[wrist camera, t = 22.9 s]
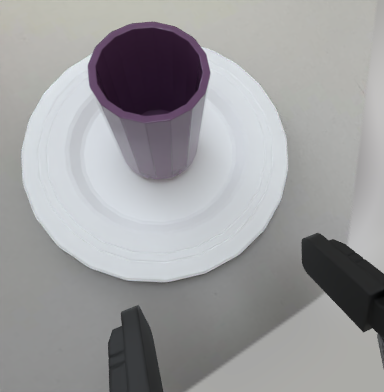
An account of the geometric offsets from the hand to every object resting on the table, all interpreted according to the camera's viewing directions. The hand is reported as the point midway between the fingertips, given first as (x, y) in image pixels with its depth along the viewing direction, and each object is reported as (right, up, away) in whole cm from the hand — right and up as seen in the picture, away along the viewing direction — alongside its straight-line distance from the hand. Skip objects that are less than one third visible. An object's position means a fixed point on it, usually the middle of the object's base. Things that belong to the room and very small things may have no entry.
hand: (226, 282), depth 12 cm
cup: (-4, +8, +9) cm, 13 cm away
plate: (-4, +8, +11) cm, 14 cm away
